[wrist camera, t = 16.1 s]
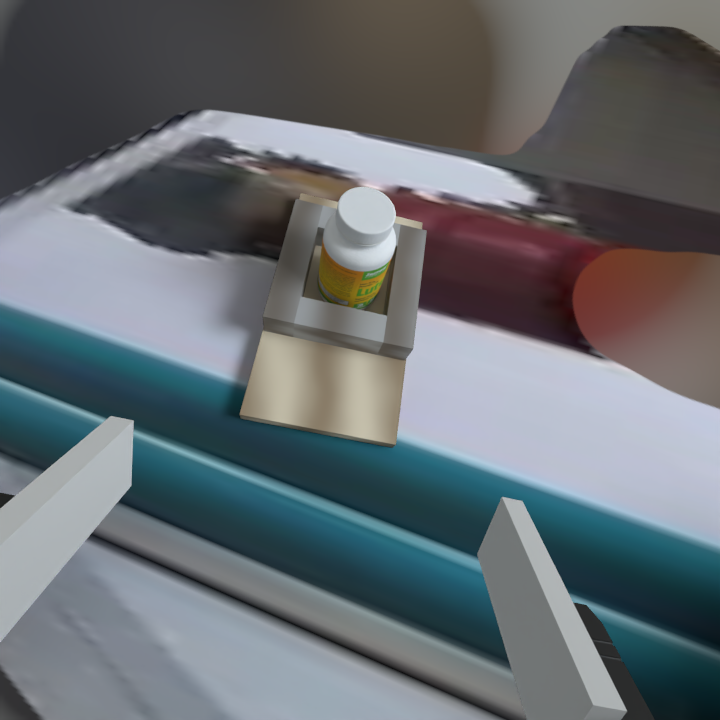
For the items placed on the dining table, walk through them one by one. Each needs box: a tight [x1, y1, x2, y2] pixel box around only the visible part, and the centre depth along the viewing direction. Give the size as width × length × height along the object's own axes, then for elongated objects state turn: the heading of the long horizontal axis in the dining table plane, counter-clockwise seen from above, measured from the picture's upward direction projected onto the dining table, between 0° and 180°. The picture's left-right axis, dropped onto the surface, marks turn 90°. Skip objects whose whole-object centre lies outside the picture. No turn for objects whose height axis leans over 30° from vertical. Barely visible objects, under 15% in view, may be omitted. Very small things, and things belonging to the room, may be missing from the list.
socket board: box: [239, 193, 426, 447], centre depth 36 cm, size 12×22×4 cm, turn 171°
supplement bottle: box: [317, 187, 396, 310], centre depth 32 cm, size 5×5×10 cm
